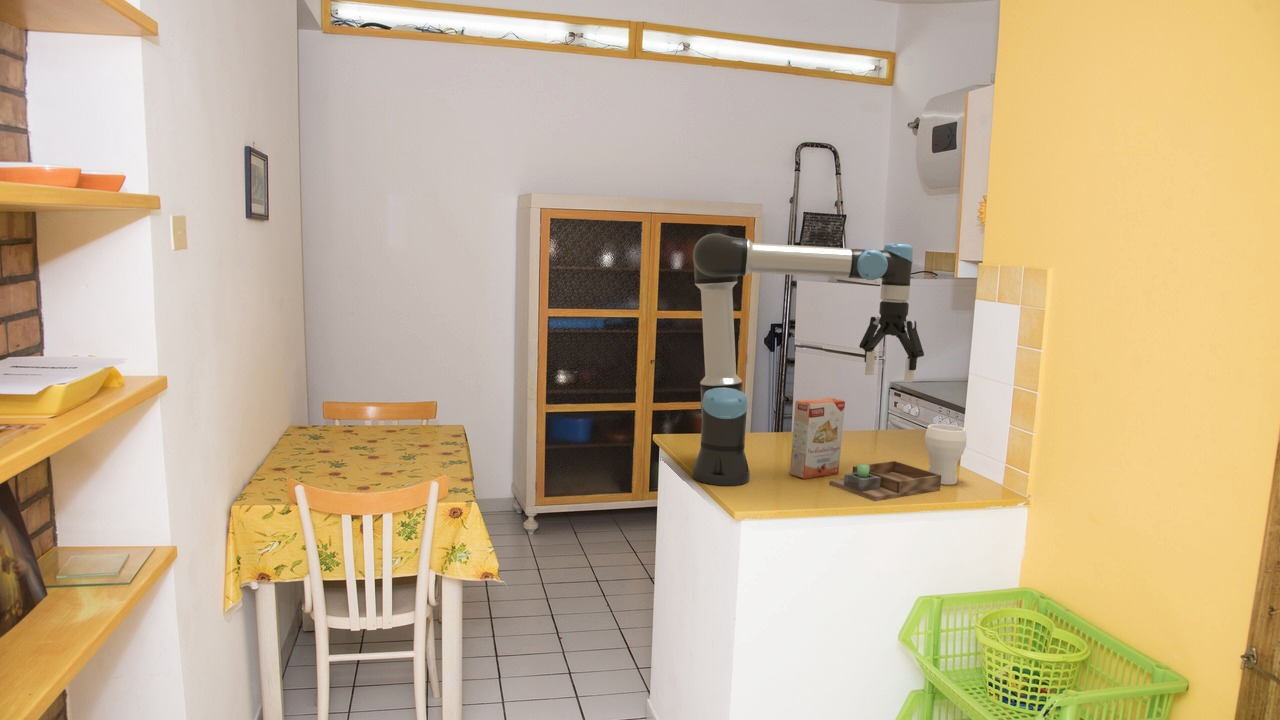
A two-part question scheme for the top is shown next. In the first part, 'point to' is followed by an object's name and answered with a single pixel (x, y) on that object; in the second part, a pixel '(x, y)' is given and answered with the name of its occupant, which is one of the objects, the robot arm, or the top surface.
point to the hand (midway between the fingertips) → (888, 378)
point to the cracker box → (817, 437)
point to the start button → (863, 470)
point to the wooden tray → (889, 481)
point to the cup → (945, 450)
